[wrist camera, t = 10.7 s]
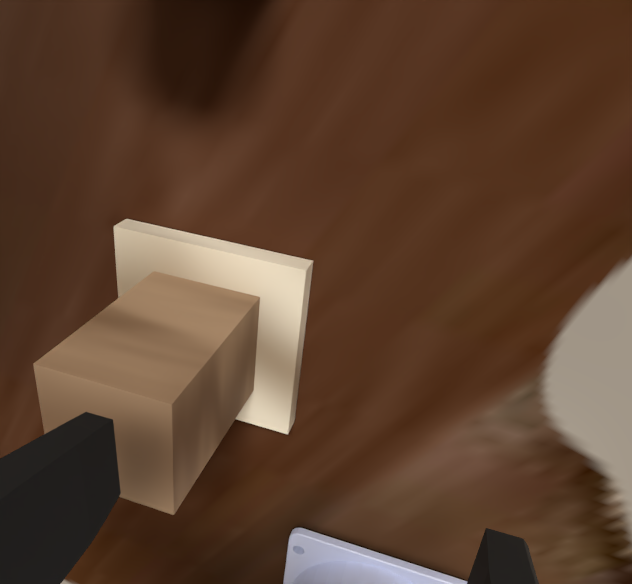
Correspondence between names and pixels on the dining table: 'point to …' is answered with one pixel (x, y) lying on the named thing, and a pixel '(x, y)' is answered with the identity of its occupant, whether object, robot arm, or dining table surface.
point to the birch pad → (243, 276)
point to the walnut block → (157, 380)
